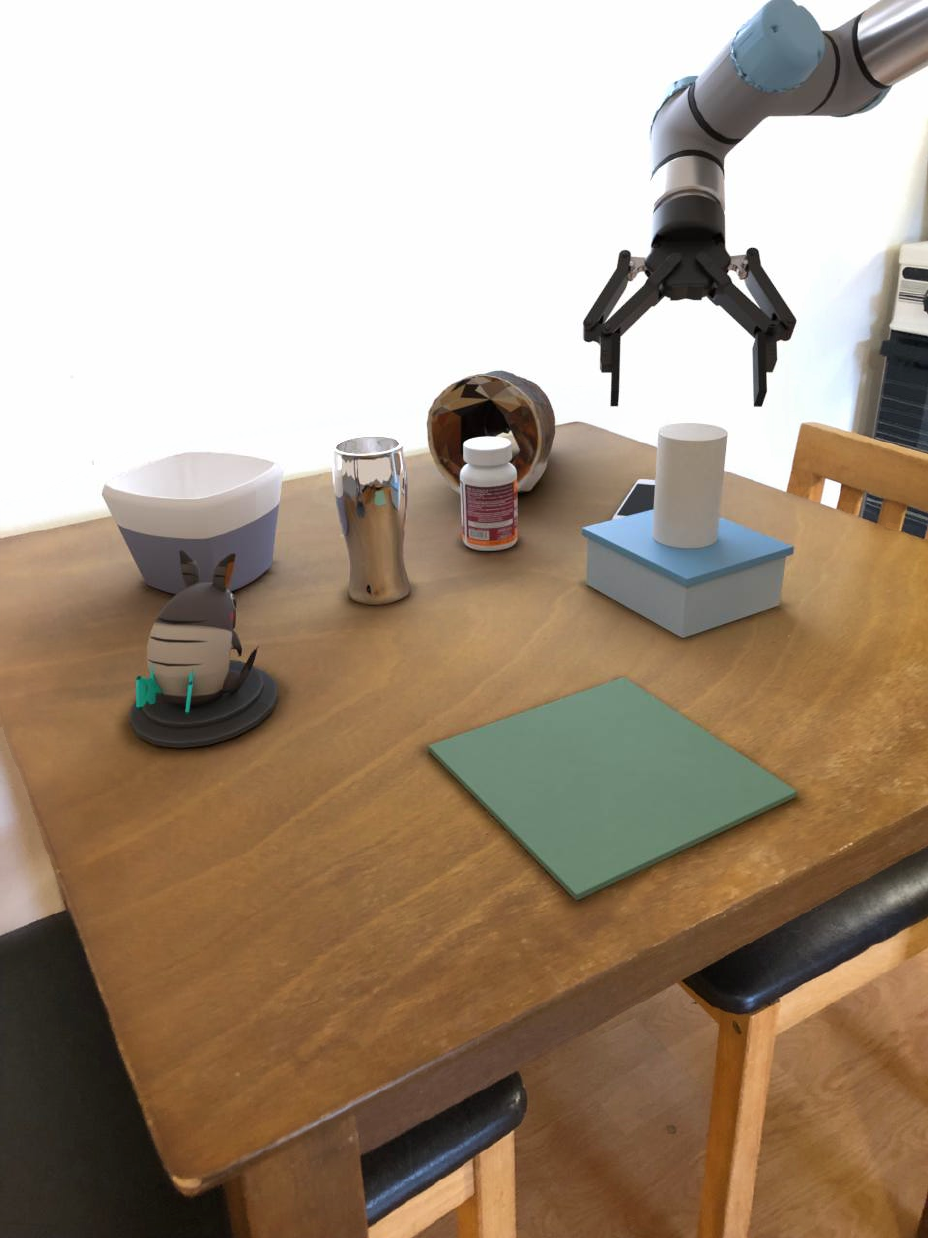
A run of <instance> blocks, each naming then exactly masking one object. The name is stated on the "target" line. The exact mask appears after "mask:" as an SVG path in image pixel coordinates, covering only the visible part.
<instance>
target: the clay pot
mask: <svg viewBox="0 0 928 1238" xmlns="http://www.w3.org/2000/svg"><path fill="white" fill-rule="evenodd" d="M427 413H428V414H427V420H426V431H427V432H426V433H427V445H428V449H429V452H430V455H431V457H432V459H433V462H434V465H435V466H436V468H437V470H438V472H439V473H440V474H441V476H442V477H443V478H444V480H445V481H447V483H448V484H449V486H450V488H451V489H453V491H454V492H456V493H458V494H459V495H461V490H460V472H461V470H462V468H463V467H464V466H465V465H466V464H468V463H466V462H465V461H464V459H463V454H464V452H463V444H464V442H465V441H467V440H469V439H473V438H478V437H498V436H499V435H502V434H507V435H509V433H511V434H512V436H513V438H514V441H515V443H516V445H517V447H518V449H519V451H518V453H517V454H516V456H515V458H514V460H511V461H509V463H511V464H512V465H513V466H514V467H515V469H516V471H517V495H518V494H523V493H528V492H531V491H532V490H533V488H534V486H536V484H537V483H538V481H539V480H540V479H541V478H542V476H543V474H544V473H545V471H546V469H547V467H548V460H549V456H550V453H551V451H552V448H553V443H554V440H555V437H556V417H555V411H554V409H553V405H552V403H551V401H550V399H549V397H548V395H547V393H545V391H544V390H543V389H542V388H541V386H539V385H538V384H537V383H535V382H534V381H531V380H529V379H527V378H524V377H521V376H518V375H516V374H514V373H512V372H509V371H506V370H493V371H489V372H486V373H477V374H473V375H469V376H466V377H464V378H462V379H459V380H458V381H455V382H454V383H451V384H450V385H448V386H447V387H446V388H444V389H443V390H442V391H441V393H439V394H438V396H437V397H435V399H434V400H433V402H432V403H431V406H430V408H429V409H428V412H427Z"/></svg>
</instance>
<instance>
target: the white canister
mask: <svg viewBox="0 0 928 1238" xmlns="http://www.w3.org/2000/svg"><path fill="white" fill-rule="evenodd" d="M727 445H728V431H727V430H726V429H725V428H723V427H721V426H718V425H714V424H707V423H699V422H698V423H697V422H681V423H673V424H668V425H664V426H662V427H660V428H659V429H658V432H657V446H656V447H657V448H656V462H655V463H656V465H655V479H654V480H655V495H654V511H653V527H652V537H653V539H654V540H655V541H657V542H659V543H661V544H663V545H666V546H670V547H676V548H701V547H706V546H709V545H712V544H714V543H715V542H716V541H717V539H718V529H719V518H720V517H721V506H722V497H723V485H724V474H725V465H726V454H727Z"/></svg>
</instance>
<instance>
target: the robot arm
mask: <svg viewBox="0 0 928 1238" xmlns="http://www.w3.org/2000/svg"><path fill="white" fill-rule="evenodd" d="M927 67H928V0H878V1H876V2H875V3H874V4H872V5H871V6H868V7H867V9H865V10H864V11H862V12H861V13H859V14H858V15H856V16H854V17H853V18H851V19H850V20H848V21H846V22H845V23H843V24H841V25H840V26H838V27H836V28H834V29H831V30H824V29H823V30H822V29H821V26H820V24H819V23H818V21H817V20H816V18H815V17H814V15H813V14H812V13H811V12H810V11H809V10H808V9H807V8H806V7H805V6H804V5H801V4H800V5H798V4H797V3H796V1H794V0H769V1H767V2H766V3H765V4H763V6H762V7H761V8H760V9H758V11H757V12H756V13H755V14H753V16H751V18H750V19H748V20H747V21H746V23H743V24H742V25H740V27H739V29H737V31H736V32H735V34H733V36H732V37H731V39H730V40H728V42H727V43H726V45H725V46H724V47H723V48H722V49H721V50H720V51H719V53H718V54H717V55H716V56H715V57H714V58H713V60H712V61H711V62H710V63H709V64H708V65H707V66H706V67H705V69H704V70H703V71H702V72H701V73H700V74H699V75H685V76H683V77H680V78H679V79H678V80H676V81H674V82H670V83H668V84H667V85H666V86H665V87H663V88H662V90H661V91H660V92H659V93H658V95H657V97H656V98H655V101H654V104H653V107H652V119H651V125H650V129H649V130H650V131H649V141H650V188H649V190H650V193H649V194H650V195H649V220H650V221H649V241H648V242H649V245H648V247H649V248H648V254H647V255H646V257H642V256H632V252H631V251H630V250H628V249H623V250H620V252H619V253H618V257H617V258H618V259H617V263H616V264H617V265H616V269H615V270H614V271H613V272H612V274H611V276H610V278H609V279H608V281H607V282H606V284H605V286H604V288H603V289H602V290H601V292H600V294H599V295H598V297H597V298H596V300H595V302H594V303H593V305H592V306H591V308H590V310H589V311H588V313H587V314H586V316H585V317H584V319H583V321H582V340H583V341H584V342H586V343H592V342H595V343H597V344H598V345H599V348H600V349H599V351H600V352H599V370H600V372H601V373H602V374H611V375H610V376H611V377H610V406H609V407H619V400H620V373H621V372H620V371H621V340H622V339H621V337H622V336H623V335H624V334H625V333H627V331H629V329H631V327H632V326H633V325H635V323H636V322H638V320H640V319H641V318H642V317H643V316H644V315H645V314H646V313H647V312H648V311H649V310H650V309H651V308H652V307H653V308H654V307H656V306H657V305H658V304H659V303H661V301H662V300H663V299H664V298H665V297H666V298H667V299H669V301H671V302H673V301H677V302H678V301H682V300H690V301H703V298H705V297H706V298H707V299H708V300H709V301H710V302H711V303H712V304H713V305H715V306H716V307H721V308H722V310H724V311H725V312H726V313H727V314H728V315H729V316H730V317H731V318H732V319H733V321H735V322H736V323H738V325H740V327H742V329H744V330H745V331H746V332H747V333H748V334H749V335H750V336H751V337H752V338H753V339H754V342H753V345H752V348H751V349H752V351H751V352H752V390H753V407H754V408H756V407H757V408H762V407H763V405H764V401H765V399H766V396H767V393H768V379H767V377H768V376H767V375H768V374H767V373H769V374H770V373H772V374H773V372H774V370H775V368H776V365H777V362H778V342H780V341H782V342H788V341H790V340H791V339H792V336H793V333H794V330H795V328H796V325H797V321H798V320H797V318H796V316H795V315H794V313H793V312H792V310H791V309H790V307H789V306H788V304H787V302H786V301H785V299H784V298H783V296H782V295H781V293H780V291H778V289H777V288H776V286H775V284H774V283H773V281H772V280H771V278H770V277H769V275H768V274H767V272H766V271H765V269H764V268H763V266H762V261H761V256H760V251H759V249H758V248H756V247H749V248H748V249H747V250H746V252H745V254H738V255H730V254H729V252H728V250H727V248H726V213H725V211H726V195H725V159H726V157H727V155H728V154H729V153H730V152H731V151H732V150H733V149H734V148H735V147H736V146H737V145H738V144H739V143H741V142H742V141H744V139H745V138H746V137H747V136H748V135H750V133H751V132H753V130H754V129H755V128H756V127H758V126H759V125H760V124H761V122H763V121H764V120H765V119H767V118H769V117H807V116H808V117H833V118H847V117H852V116H854V115H859V114H860V115H861V114H864V113H867V112H869V111H871V110H873V109H874V108H876V107H878V106H879V105H880V104H881V103H883V101H884V99H885V98H886V97H887V95H888V93H889V92H890V91H891V89H892V87H893V86H894V85H896V84H899V83H900V82H901V81H904V80H905V79H907V78H909V77H910V76H913V75H914V74H917V73H918V72H920V71H921V70H923V69H926V68H927ZM729 271H733V272H735V273H736V275H737V277H738V279H739V280H740V281H744V284H745V287H746V289H747V291H748V292H749V293H750V295H751V297H752V298H753V300H754V301H755V303H754V301H753V300H751V298H749V297H748V296H747V295H746V294H745V293H744V292H743V291H742V290H741V289H740V288H739V287H738V286H736V285H735V284H734V282H733V280H732V278H731V276H730V275H729V274H728V273H729ZM642 272H644V275H645V276H646V277H647V279H646V280H645V283H644V284H643V285H641V287H640V288H639V289H638V290H637V291H636V292H635V293H634V294H633V295H631V296H630V298H628V300H627V301H626V302H625V303H623V305H621V306H620V307H619V308H618V309H617V310H616V311H615V312H614V313H613V314H612V315H611V313H612V312H613V310H614V309H615V307H616V306H617V304H618V302H619V301H620V299H621V297H622V296H623V294H624V293H625V291H626V289H627V286H628V283H629V282H633V281H634V279H636V278H637V276H638V275H639V273H642ZM610 315H611V316H610Z"/></svg>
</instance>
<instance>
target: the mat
mask: <svg viewBox="0 0 928 1238" xmlns="http://www.w3.org/2000/svg"><path fill="white" fill-rule="evenodd" d="M428 752H429V753H431V754H430V755H432V756H433V757H434V758H435V759H436V760H437V761H438V762H439V763H440V764H441V765H442V766H443V767H444V768H445V769H446V770H447V771H448V772H449V773H450V774H451V775H452V777H454V778H455V779H456V780H457V781H458V782H459V783H460V785H461V786H463V787H464V788H465V790H466V791H468V792H469V794H470V795H471V796H472V797H473V798H475V800H477V802H478V803H479V804H480V805H481V806H483V808H484V809H485V810H486V811H487V812H488V813H489V814H490V815H491V816H493V818H494V819H495V820H496V821H497V822H498V823H499V824H500V825H501V826H502V827H503V828H504V829H505V830H506V831H507V832H508V833H509V834H510V835H511V836H512V837H513V838H514V839H515V840H516V841H517V842H518V843H519V844H520V845H521V847H523V848H524V849H525V850H526V851H527V852H528V853H529V854H530V856H532V858H534V859H535V860H536V862H538V864H540V866H541V867H542V868H543V869H544V870H546V872H547V873H548V874H549V875H550V876H551V877H552V878H553V879H554V880H555V881H556V882H557V883H558V884H559V885H560V886H561V887H562V888H563V889H564V890H565V891H566V892H567V893H568V894H569V895H570V896H571V897H572V898H573V899H574V900H575V901H576V902H577V901H580V900H581V899H583V898H585V897H588V896H590V895H592V894H594V893H596V892H598V891H600V890H602V889H605V888H607V887H609V886H610V885H613V884H615V883H617V882H619V881H621V880H624V879H626V878H628V877H630V876H632V875H634V874H636V873H638V872H641V871H642V870H645V869H647V868H649V867H651V866H653V865H656V864H657V863H659V862H661V861H664V860H666V859H668V858H670V857H672V856H675V855H676V854H678V853H682V852H683V851H685V850H687V849H689V848H691V847H693V846H695V845H698V844H700V843H703V842H704V841H706V840H709V839H710V838H713V837H714V836H717V835H719V834H721V833H723V832H725V831H728V830H730V829H732V828H734V827H736V826H738V825H741V824H742V823H744V822H746V821H749V820H751V819H752V818H754V817H757V816H759V815H761V814H763V813H766V812H768V811H770V810H773V809H774V808H776V807H778V806H781V805H782V804H785V803H787V802H788V801H791V800H793V799H795V798H797V797H798V790H797V789H795V788H793V787H792V786H791V785H789V784H788V783H786V782H784V781H782V780H781V779H780V778H778V777H777V776H775V775H774V774H772V772H771V773H770V772H769V771H768V770H766V769H764V768H763V767H761V766H760V765H759V764H757V763H755V762H754V761H752V759H751V760H750V759H749V758H747V756H744V755H743V754H742V753H741V752H739V751H738V750H736V749H734V748H733V747H731V746H729V745H728V744H727V743H726V742H723V741H722V740H721V739H719V738H717V737H716V736H715V735H713V734H712V733H710V732H709V731H708V730H706V729H704V728H703V727H701V726H699V725H698V724H697V723H695V722H693V721H691V720H690V719H689V718H687V717H686V716H684V715H683V714H681V713H680V712H678V711H676V710H675V709H673V708H672V707H671V706H668V704H666V703H664V702H663V701H661V700H660V699H659V698H657V697H655V696H654V695H652V694H650V693H649V692H648V691H646V690H644V689H643V688H642V687H640V686H638V685H637V684H636V683H634V682H633V681H631V680H629V679H628V678H627V677H625V676H622V677H619V678H616V679H613V680H610V681H608V682H605V683H602V684H600V685H597V686H593V687H591V688H588V689H585V690H582V691H580V692H577V693H574V694H570V695H568V696H566V697H565V696H564V697H562V698H560V699H557V700H554V701H550V702H549V703H545V704H543V705H539V706H537V707H534V708H531V709H528V710H525V711H522V712H520V713H517V714H513V715H511V716H509V717H505V718H503V719H500V720H497V721H495V722H491V723H488V724H485V725H483V726H480V727H477V728H475V729H471V730H469V731H468V730H467V731H466V732H463V733H460V734H457V735H455V736H452V737H448V738H446V739H444V740H440V741H436V742H435V743H432V744H429V745H428Z"/></svg>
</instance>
